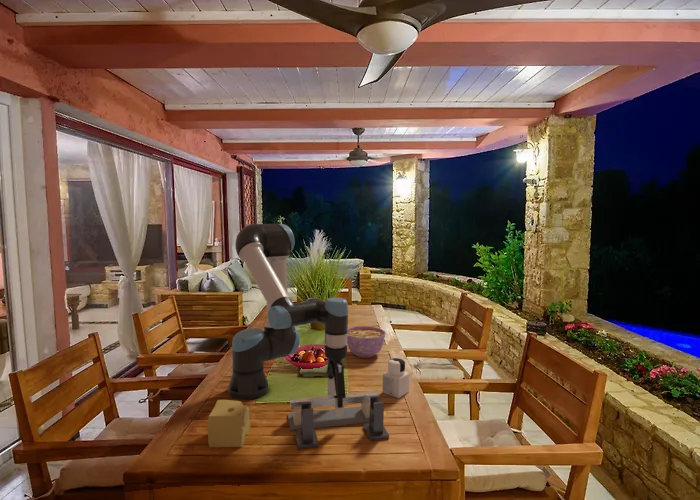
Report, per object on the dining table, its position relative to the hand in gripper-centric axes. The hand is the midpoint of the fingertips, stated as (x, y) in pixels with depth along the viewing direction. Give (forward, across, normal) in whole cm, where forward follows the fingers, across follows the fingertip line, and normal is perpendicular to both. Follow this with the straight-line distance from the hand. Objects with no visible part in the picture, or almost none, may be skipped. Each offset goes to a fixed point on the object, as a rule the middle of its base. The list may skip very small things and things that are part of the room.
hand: (335, 405), depth 133 cm
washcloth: (+5, +41, -1) cm, 41 cm away
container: (+4, +14, -27) cm, 31 cm away
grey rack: (+4, -12, 0) cm, 12 cm away
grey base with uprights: (+4, 0, 0) cm, 4 cm away
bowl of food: (+5, +56, -26) cm, 62 cm away
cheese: (+5, -6, +34) cm, 35 cm away
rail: (-1, 0, 0) cm, 1 cm away
